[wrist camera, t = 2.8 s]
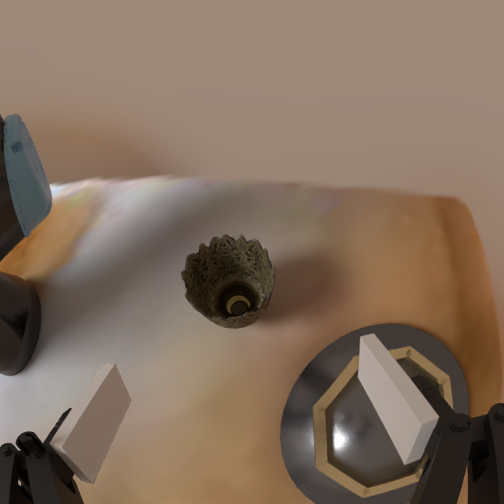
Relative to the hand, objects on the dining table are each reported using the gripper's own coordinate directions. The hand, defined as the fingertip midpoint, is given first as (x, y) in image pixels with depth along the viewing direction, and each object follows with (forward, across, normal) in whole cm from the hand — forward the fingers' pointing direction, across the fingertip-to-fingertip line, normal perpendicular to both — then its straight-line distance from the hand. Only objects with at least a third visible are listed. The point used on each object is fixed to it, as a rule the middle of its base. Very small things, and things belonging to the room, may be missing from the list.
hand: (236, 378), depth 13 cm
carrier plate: (+5, +12, -13) cm, 18 cm away
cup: (+15, 0, -3) cm, 15 cm away
